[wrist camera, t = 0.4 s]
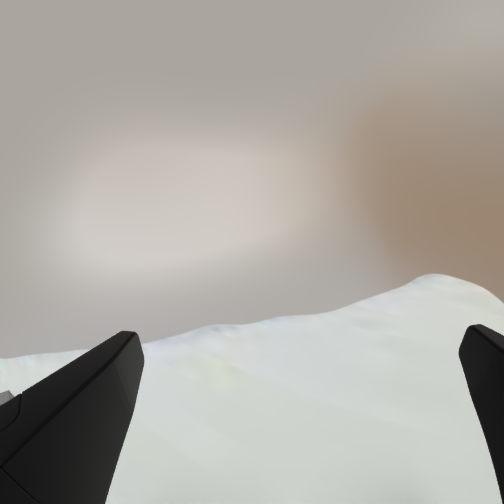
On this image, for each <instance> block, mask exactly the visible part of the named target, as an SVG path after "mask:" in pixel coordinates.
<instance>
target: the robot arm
mask: <svg viewBox="0 0 504 504" xmlns="http://www.w3.org/2000/svg"><path fill="white" fill-rule="evenodd" d="M459 358H460V361H461V364H462V367H463V371H464V374H465V377H466V381H467V384H468V388H469V392H470V395H471V398H472V401H473V404H474V407H475V410H476V412H477V415H478V418H479V421H480V424H481V427H482V430H483V433H484V436H485V439H486V442H487V445H488V449H489V452H490V455H491V459H492V462H493V466H494V470H495V473H496V477H497V481H498V485H499V490H500V494H501V499H502V503H503V504H504V336H503V335H501V334H499V333H497V332H495V331H494V330H492V329H490V328H488V327H486V326H484V325H481V324H477V325H471V326H469V327H468V328H467V330H466V332H465V335H464V337H463V340H462V343H461V345H460V348H459ZM143 367H144V354H143V351H142V347H141V343H140V339H139V336H138V334H137V333H136V332H131V331H121V332H119V333H117V334H116V335H114V336H113V337H111V338H109V339H108V340H106V341H104V342H103V343H101V344H100V345H98V346H96V347H95V348H93V349H91V350H90V351H88V352H87V353H85V354H83V355H82V356H80V357H78V358H77V359H75V360H74V361H72V362H70V363H69V364H67V365H65V366H64V367H62V368H61V369H59V370H57V371H56V372H54V373H53V374H51V375H49V376H48V377H46V378H44V379H43V380H41V381H40V382H38V383H36V384H35V385H33V386H31V387H30V388H28V389H27V390H25V391H23V392H22V394H18V395H17V396H15V397H14V398H12V399H10V400H9V401H7V402H5V403H4V404H2V405H0V504H105V502H106V499H107V495H108V492H109V488H110V485H111V482H112V478H113V475H114V472H115V468H116V465H117V462H118V459H119V455H120V452H121V449H122V446H123V443H124V440H125V437H126V434H127V431H128V428H129V425H130V422H131V419H132V415H133V412H134V408H135V403H136V398H137V394H138V389H139V385H140V380H141V376H142V371H143Z"/></svg>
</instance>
